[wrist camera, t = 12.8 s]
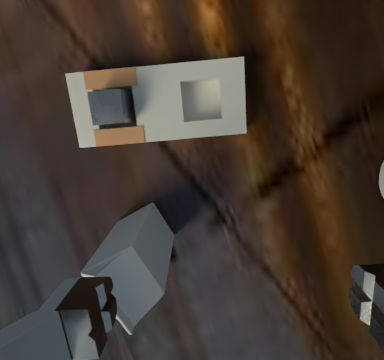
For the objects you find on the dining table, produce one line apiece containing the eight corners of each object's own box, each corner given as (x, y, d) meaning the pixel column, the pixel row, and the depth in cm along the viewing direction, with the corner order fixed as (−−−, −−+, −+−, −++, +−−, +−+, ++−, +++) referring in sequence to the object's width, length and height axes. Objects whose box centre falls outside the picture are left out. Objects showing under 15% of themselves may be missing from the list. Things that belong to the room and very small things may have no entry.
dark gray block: (133, 93, 37) (119, 88, 30) (137, 121, 38) (124, 122, 31) (106, 96, 37) (86, 91, 30) (111, 123, 38) (92, 125, 31)
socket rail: (238, 62, 37) (244, 56, 33) (241, 131, 39) (246, 133, 35) (78, 78, 38) (64, 73, 33) (90, 144, 40) (79, 148, 36)
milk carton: (153, 201, 42) (121, 266, 24) (174, 234, 44) (160, 320, 25) (118, 220, 43) (61, 298, 25) (140, 252, 45) (102, 348, 26)
